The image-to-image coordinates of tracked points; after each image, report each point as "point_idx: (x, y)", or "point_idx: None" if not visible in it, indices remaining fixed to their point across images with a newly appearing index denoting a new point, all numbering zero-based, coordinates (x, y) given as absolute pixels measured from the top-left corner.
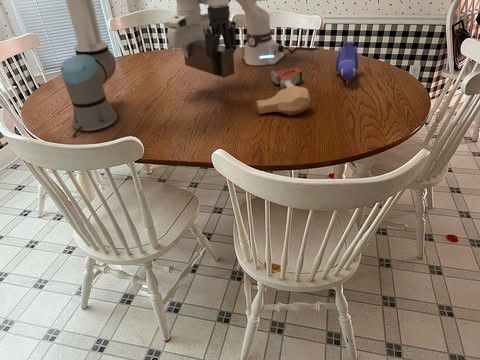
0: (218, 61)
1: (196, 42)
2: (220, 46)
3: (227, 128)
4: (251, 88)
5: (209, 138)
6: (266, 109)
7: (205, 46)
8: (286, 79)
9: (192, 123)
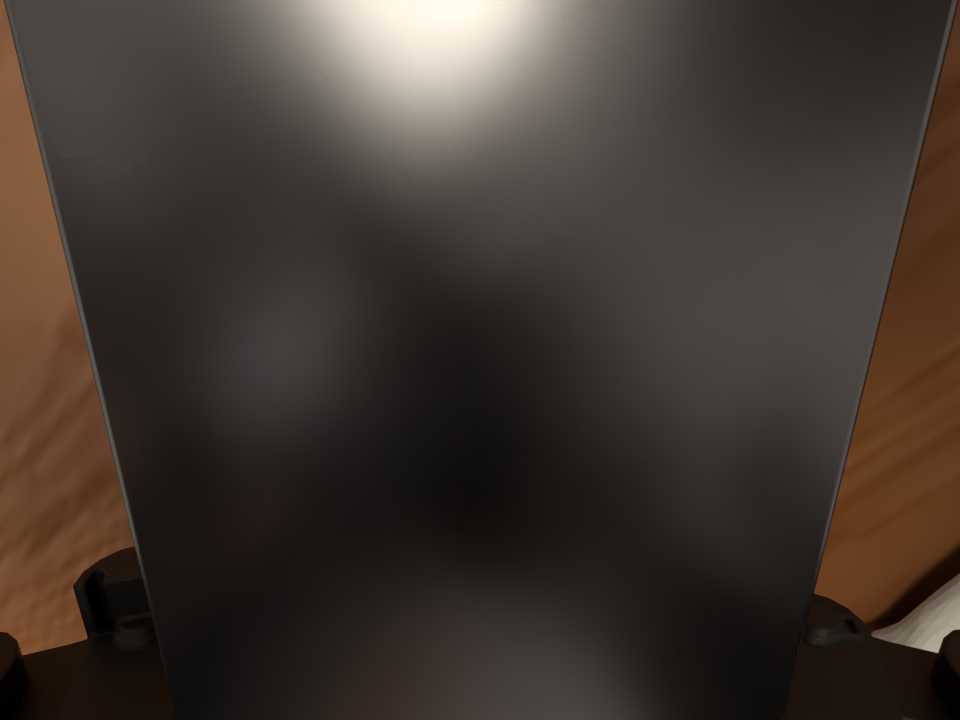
0: None
1: None
2: (630, 700)
3: None
4: (906, 235)
5: (29, 613)
6: None
7: (159, 143)
8: None
9: (22, 376)
